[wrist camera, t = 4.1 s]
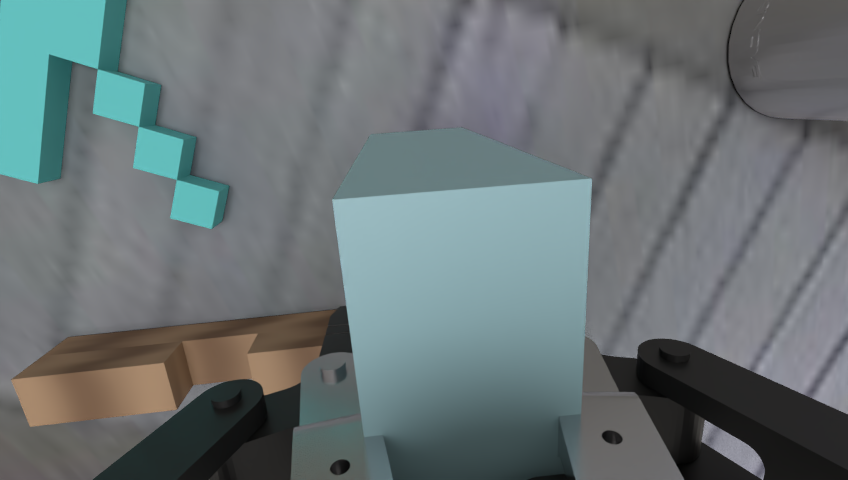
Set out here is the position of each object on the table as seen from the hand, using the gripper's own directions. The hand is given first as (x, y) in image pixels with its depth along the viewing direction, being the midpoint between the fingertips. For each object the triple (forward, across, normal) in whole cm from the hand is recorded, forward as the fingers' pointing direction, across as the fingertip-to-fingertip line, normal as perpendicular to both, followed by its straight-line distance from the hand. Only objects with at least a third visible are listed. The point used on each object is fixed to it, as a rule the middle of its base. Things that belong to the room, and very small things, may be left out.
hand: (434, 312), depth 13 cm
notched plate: (+3, 0, 0) cm, 3 cm away
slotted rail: (+15, +12, +8) cm, 21 cm away
